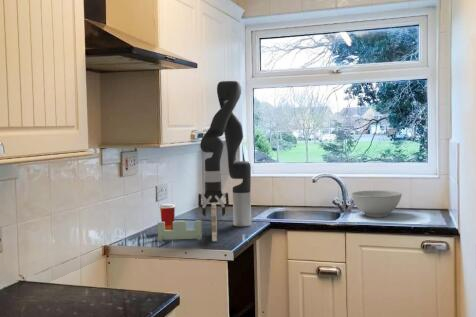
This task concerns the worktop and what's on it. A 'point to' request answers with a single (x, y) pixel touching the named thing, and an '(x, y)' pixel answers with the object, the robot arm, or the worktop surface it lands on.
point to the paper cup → (168, 215)
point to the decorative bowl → (376, 202)
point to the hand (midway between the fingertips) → (213, 215)
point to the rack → (179, 231)
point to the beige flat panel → (214, 222)
